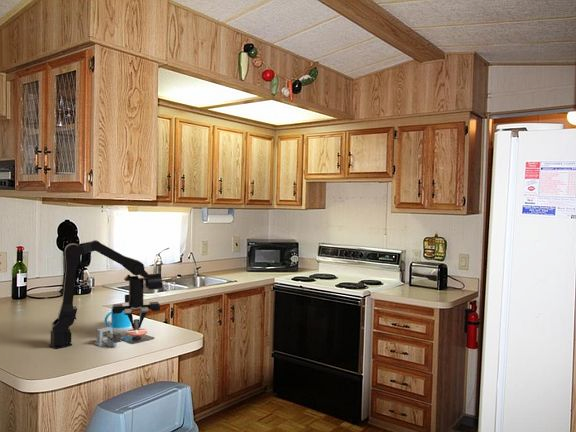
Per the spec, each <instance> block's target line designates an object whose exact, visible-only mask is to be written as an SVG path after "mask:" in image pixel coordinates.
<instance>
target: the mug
mask: <svg viewBox="0 0 576 432" xmlns="http://www.w3.org/2000/svg"><path fill="white" fill-rule="evenodd" d="M110 310H111V311H110V312H108V313H107V314H106V315H105V317H104V324H105V325H106V326H107V327H112V328H113V329H127V328H130V327H131V322H130V320H129V318H128V316H127V315H125V314H124V311H123V312H122V313H119V314H113V313H112V308H111V309H110ZM109 317H111V319H110V321H111V324H109V322H108V318H109Z"/></svg>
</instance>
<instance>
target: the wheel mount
mask: <svg viewBox="0 0 576 432" xmlns="http://www.w3.org/2000/svg"><path fill="white" fill-rule="evenodd" d="M151 340H152V341H153V340H155V337H154V336H151V335H148V334H144V335H140V336H129V335H126V336H121V342H125V343H128V344H132V345H135V344H139V343H143V342H144V343H145V342H147V341H151Z"/></svg>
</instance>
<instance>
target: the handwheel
mask: <svg viewBox="0 0 576 432" xmlns="http://www.w3.org/2000/svg"><path fill="white" fill-rule="evenodd" d="M139 319H140V318H137V319H135V318H133V324H134V329H133V328H131V329H129V330H127V331H126V336H140V335H144V334H145V335H147V333H148V330H147V329H145V328H139Z"/></svg>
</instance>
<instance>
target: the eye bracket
mask: <svg viewBox="0 0 576 432" xmlns="http://www.w3.org/2000/svg"><path fill="white" fill-rule="evenodd" d="M105 331H106V332H109V333H112V334H114V328H112V327H109V326H107V327H103V328H98V329H97V330H96V341H94V342H93V344H94V345H95V346H98V347H102V346H106V345H107V347H108V346H109V348H111V347H115V346H117V343H114V342H113V339H111V338H108V337H106V339H104V336H103V332H105Z"/></svg>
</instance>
